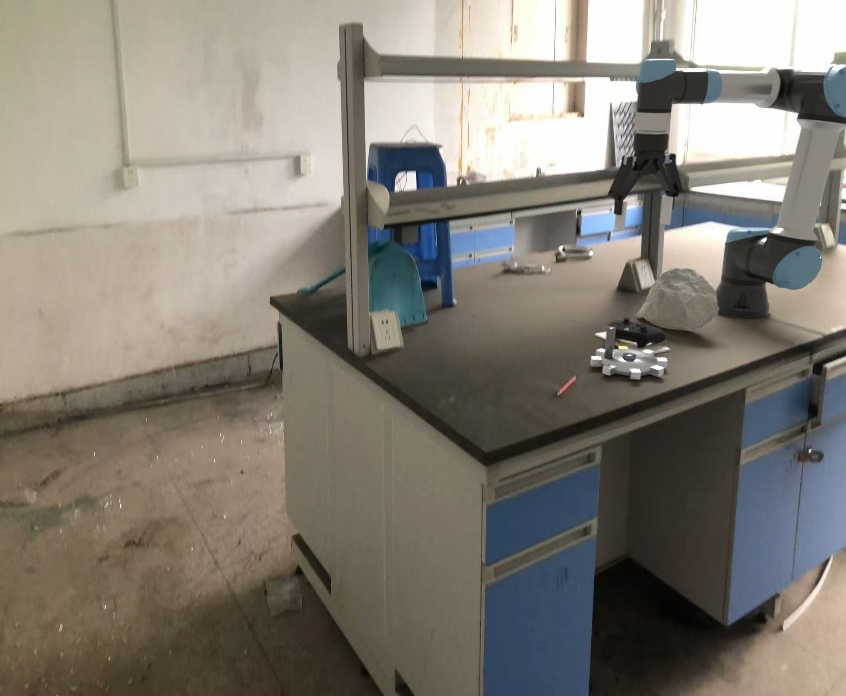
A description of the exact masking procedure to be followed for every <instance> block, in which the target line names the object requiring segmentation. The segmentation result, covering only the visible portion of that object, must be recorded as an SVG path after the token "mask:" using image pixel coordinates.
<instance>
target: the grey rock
mask: <svg viewBox="0 0 846 696" xmlns="http://www.w3.org/2000/svg"><path fill="white" fill-rule="evenodd" d="M716 290H717V289H715V288H714V287H713V285H711V284H710V283H709V281H708V280H706V278H705V277H704V276H703V275H701V274H699V273H698V272H697V271H696V270H695V269H692V268H687V267H686V268H682V267H675V266H670V267H669V268H668V269H666V270H664V271H663V272H662V273H661V274H659V276H658V278H656V280H655V282H654V283H653V284H652V286H651V288H649V291H648V294H647V297H646V300H645V302H644V303H643V305H642V306H641V308H640V309H639V311H638V312H637V313H636V316H637V317H641V318H643V319H645V320H646V322H650V323H651V324H652V325H654V326H657V327H659V328H663V329H668V330H673V331H689V332H696V331H697V330H698V329H701V328H703V327H705V326H706V325H707V324H709V323H710V322H712V320H713V318H715V316H718V314H719V313H718V310H719V307H718V305H717V296H716Z"/></svg>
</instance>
